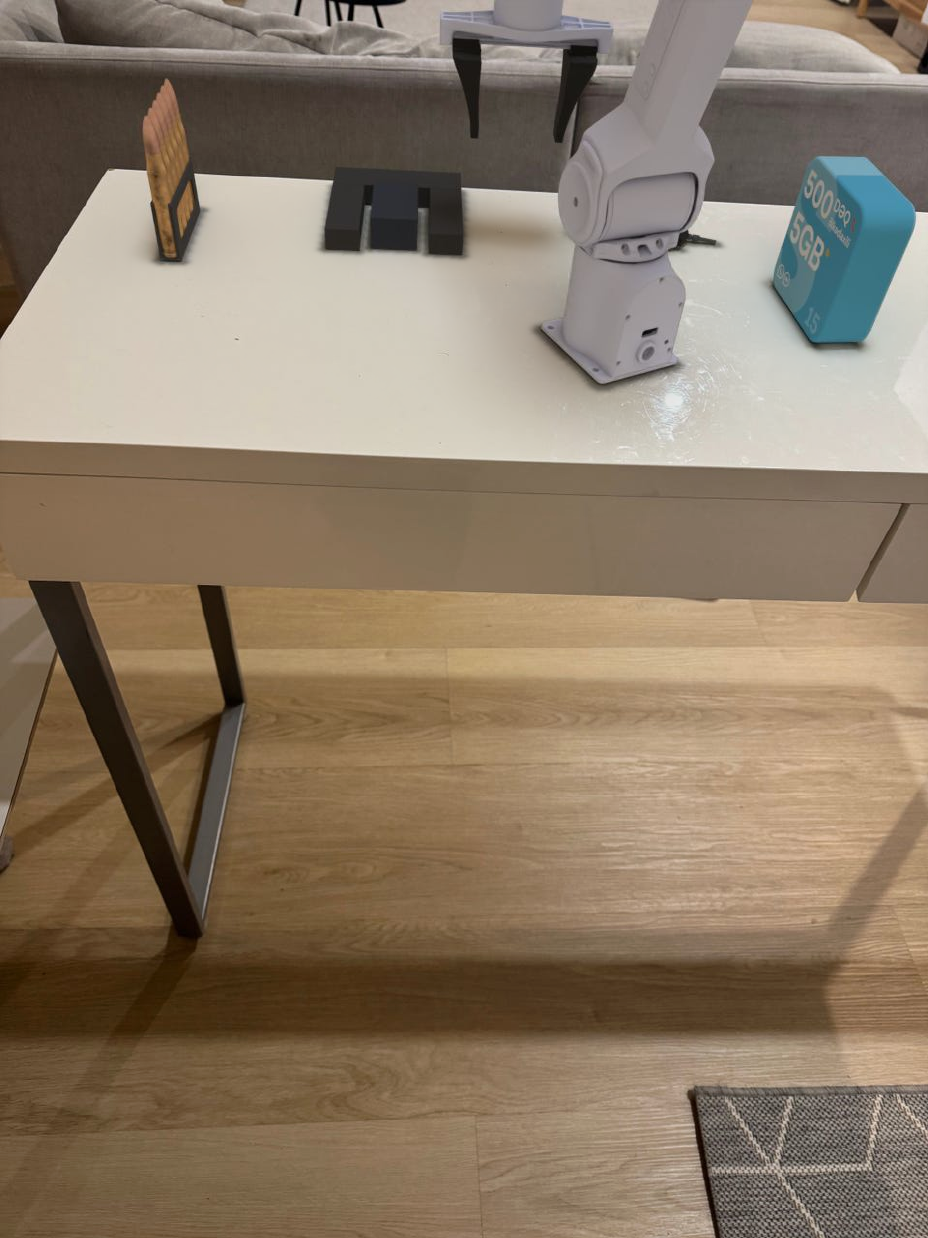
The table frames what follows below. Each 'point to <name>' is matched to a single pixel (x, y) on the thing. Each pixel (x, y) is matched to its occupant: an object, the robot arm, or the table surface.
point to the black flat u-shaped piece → (433, 192)
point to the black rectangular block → (394, 216)
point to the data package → (842, 248)
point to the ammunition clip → (170, 176)
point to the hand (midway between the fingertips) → (515, 136)
